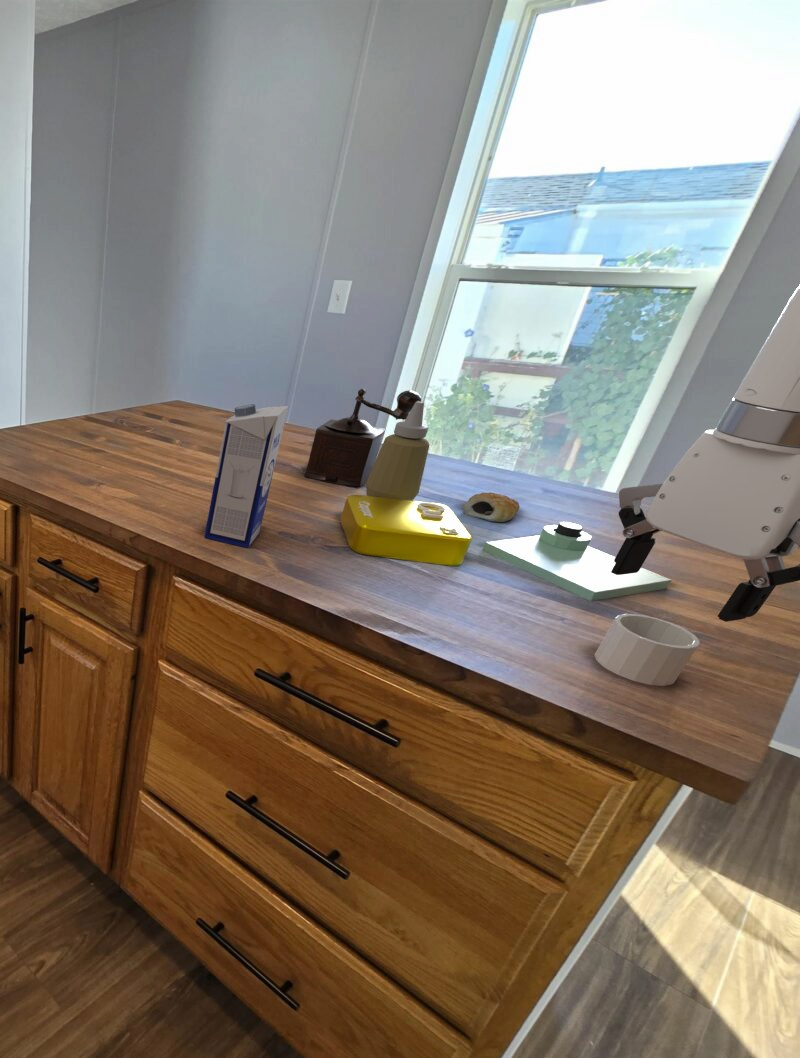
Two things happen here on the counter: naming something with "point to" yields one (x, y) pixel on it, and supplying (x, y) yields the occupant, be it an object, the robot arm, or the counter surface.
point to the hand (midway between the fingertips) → (674, 594)
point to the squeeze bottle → (401, 459)
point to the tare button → (569, 529)
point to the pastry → (491, 507)
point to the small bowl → (646, 649)
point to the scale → (573, 565)
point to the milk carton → (244, 474)
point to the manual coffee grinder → (352, 443)
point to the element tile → (404, 530)
